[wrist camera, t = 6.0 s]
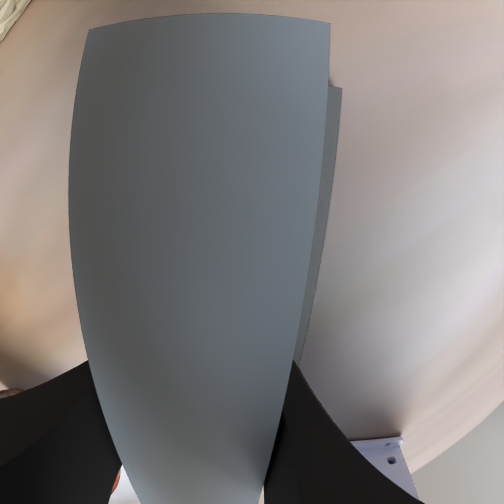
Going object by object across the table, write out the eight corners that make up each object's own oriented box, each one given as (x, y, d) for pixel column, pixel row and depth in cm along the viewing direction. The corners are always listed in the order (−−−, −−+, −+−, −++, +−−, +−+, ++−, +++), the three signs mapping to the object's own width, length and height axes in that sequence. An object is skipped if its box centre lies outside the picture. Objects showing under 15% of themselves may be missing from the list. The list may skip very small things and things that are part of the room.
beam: (295, 95, 7) (330, 23, 3) (247, 475, 12) (243, 549, 7) (169, 89, 7) (88, 29, 3) (178, 466, 12) (160, 537, 7)
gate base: (337, 93, 12) (371, 60, 8) (280, 422, 18) (282, 480, 13) (172, 79, 12) (130, 43, 8) (164, 407, 18) (144, 460, 13)
